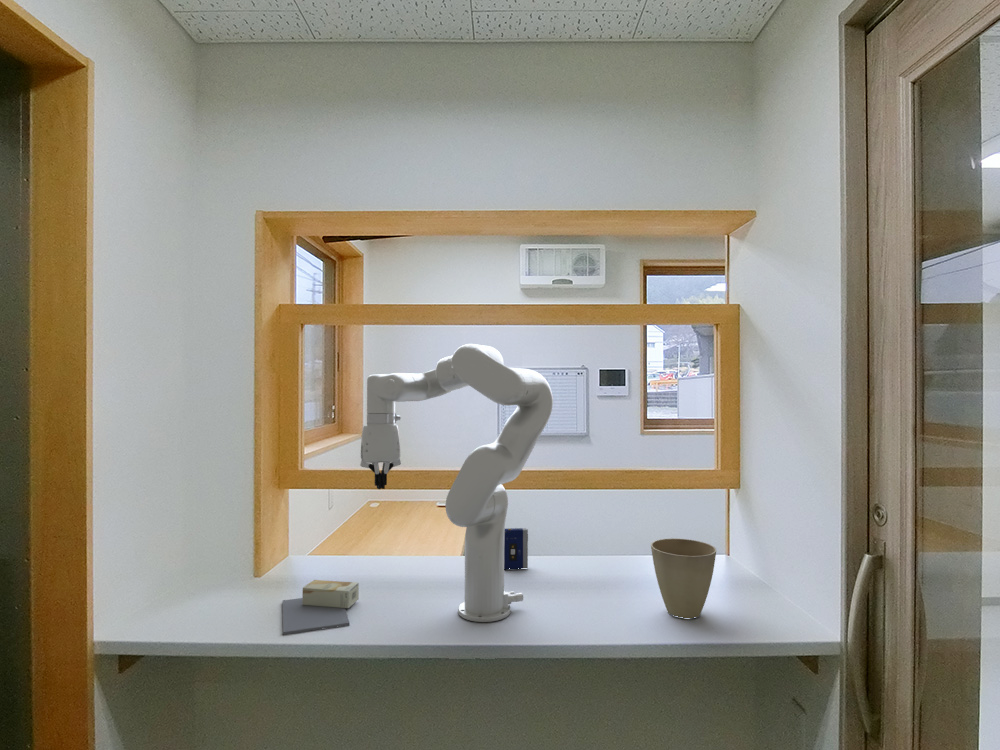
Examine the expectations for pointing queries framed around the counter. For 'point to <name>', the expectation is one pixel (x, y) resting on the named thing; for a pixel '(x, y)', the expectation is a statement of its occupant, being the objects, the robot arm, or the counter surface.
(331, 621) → the mat
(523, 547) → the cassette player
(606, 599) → the counter surface
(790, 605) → the counter surface
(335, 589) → the skincare box
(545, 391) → the robot arm
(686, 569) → the plant pot
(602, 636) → the counter surface
